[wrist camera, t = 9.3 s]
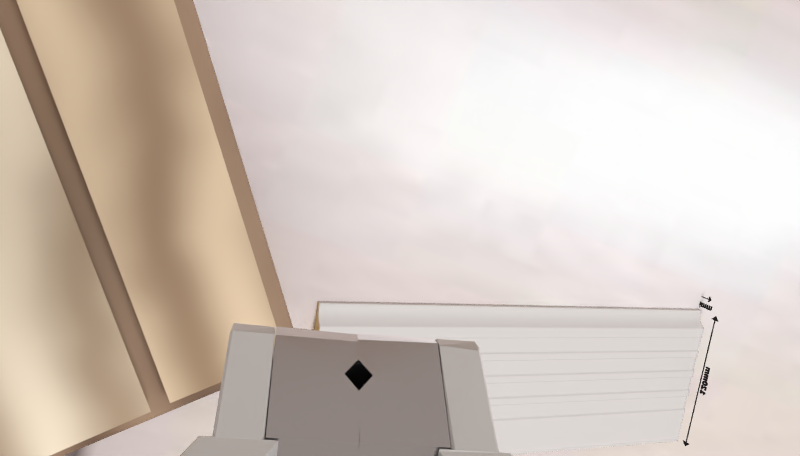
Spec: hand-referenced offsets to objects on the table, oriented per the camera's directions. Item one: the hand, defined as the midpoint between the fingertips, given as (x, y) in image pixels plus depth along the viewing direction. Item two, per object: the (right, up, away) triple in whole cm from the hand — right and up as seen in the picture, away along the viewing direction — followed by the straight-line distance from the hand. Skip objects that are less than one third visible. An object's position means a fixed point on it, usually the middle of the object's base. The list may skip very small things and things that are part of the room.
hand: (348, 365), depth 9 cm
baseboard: (+9, -8, +43) cm, 45 cm away
